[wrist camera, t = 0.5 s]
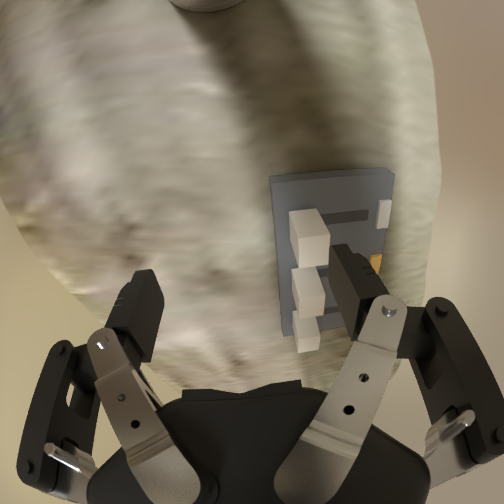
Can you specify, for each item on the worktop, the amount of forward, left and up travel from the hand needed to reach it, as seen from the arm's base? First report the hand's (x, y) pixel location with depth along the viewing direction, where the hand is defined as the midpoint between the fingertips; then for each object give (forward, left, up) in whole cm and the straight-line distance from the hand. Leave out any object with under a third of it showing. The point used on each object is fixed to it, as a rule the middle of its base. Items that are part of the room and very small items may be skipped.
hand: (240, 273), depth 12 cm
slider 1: (+8, +6, -16) cm, 19 cm away
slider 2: (+24, +6, -16) cm, 29 cm away
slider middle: (+16, +6, -16) cm, 23 cm away
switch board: (+16, +10, -18) cm, 26 cm away
